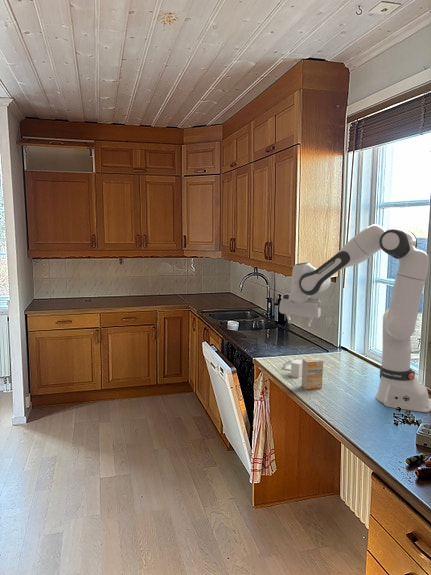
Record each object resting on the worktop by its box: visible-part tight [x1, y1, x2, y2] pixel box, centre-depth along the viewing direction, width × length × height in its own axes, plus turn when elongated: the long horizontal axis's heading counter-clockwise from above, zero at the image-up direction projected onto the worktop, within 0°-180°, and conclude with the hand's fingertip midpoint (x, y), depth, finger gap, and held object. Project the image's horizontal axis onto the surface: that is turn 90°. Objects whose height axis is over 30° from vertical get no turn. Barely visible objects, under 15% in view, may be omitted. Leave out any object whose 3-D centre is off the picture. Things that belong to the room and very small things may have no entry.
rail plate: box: [282, 360, 292, 372], centre depth 229 cm, size 8×7×3 cm
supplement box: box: [301, 357, 324, 390], centre depth 203 cm, size 8×5×13 cm, turn 105°
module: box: [290, 359, 303, 379], centre depth 219 cm, size 4×6×7 cm, turn 146°
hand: (299, 324), depth 216 cm, fingers open, 8 cm apart
